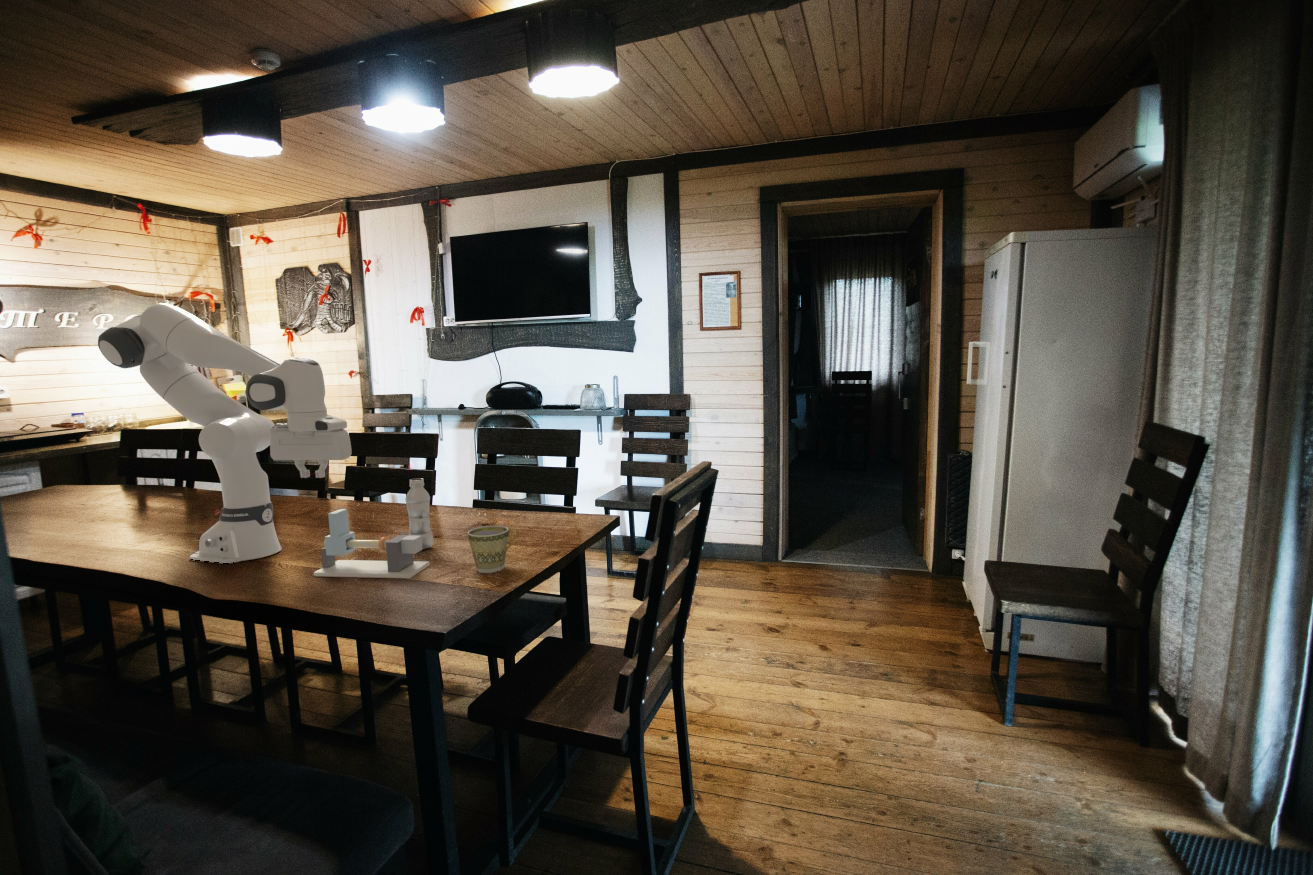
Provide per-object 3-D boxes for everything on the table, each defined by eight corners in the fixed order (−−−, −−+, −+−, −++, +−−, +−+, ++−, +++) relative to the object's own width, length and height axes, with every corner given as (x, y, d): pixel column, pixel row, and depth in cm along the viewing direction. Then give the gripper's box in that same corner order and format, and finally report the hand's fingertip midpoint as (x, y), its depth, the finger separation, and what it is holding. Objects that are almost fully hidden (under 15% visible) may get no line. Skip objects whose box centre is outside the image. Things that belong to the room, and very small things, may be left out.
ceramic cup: (476, 578, 155) (474, 538, 154) (465, 567, 164) (462, 529, 163) (527, 568, 162) (525, 529, 161) (514, 558, 171) (512, 521, 169)
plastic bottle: (426, 552, 178) (421, 481, 175) (404, 551, 179) (398, 481, 177) (438, 546, 184) (433, 477, 182) (417, 545, 185) (412, 477, 183)
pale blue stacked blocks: (326, 555, 162) (322, 513, 160) (338, 549, 166) (334, 508, 165) (344, 555, 161) (341, 513, 160) (356, 549, 166) (352, 509, 165)
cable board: (313, 576, 160) (310, 541, 159) (338, 563, 170) (335, 531, 169) (410, 578, 157) (407, 543, 156) (429, 565, 166) (427, 532, 165)
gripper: (261, 424, 159) (266, 479, 161) (337, 423, 156) (342, 479, 158) (279, 422, 165) (284, 475, 167) (352, 421, 162) (357, 475, 164)
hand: (312, 477), depth 162 cm, fingers open, 3 cm apart
